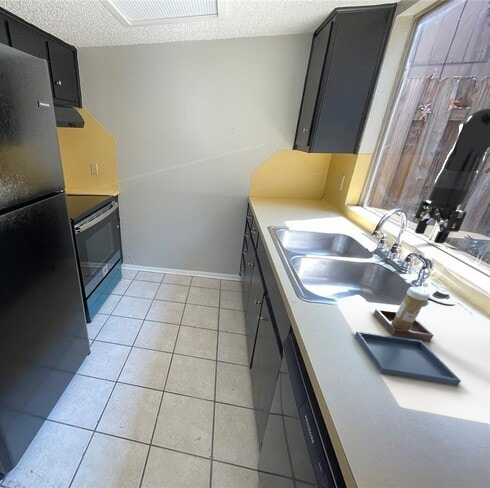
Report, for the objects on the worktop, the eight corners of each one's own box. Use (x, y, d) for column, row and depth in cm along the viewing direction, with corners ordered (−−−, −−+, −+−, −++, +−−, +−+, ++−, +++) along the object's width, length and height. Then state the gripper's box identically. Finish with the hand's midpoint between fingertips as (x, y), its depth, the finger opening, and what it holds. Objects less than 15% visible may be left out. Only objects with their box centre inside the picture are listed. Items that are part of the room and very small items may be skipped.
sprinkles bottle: (406, 333, 78) (426, 296, 73) (388, 324, 82) (406, 288, 76) (412, 328, 81) (432, 292, 75) (394, 319, 84) (412, 284, 79)
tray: (418, 345, 75) (421, 340, 74) (456, 386, 63) (461, 380, 62) (354, 336, 77) (356, 331, 76) (380, 374, 65) (383, 368, 64)
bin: (406, 319, 86) (409, 313, 84) (429, 342, 76) (433, 335, 75) (372, 315, 87) (375, 308, 86) (391, 337, 78) (395, 330, 77)
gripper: (490, 191, 68) (461, 248, 74) (447, 183, 80) (425, 231, 87) (456, 189, 69) (430, 245, 75) (420, 181, 82) (400, 229, 88)
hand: (428, 237), depth 81 cm, fingers open, 8 cm apart
